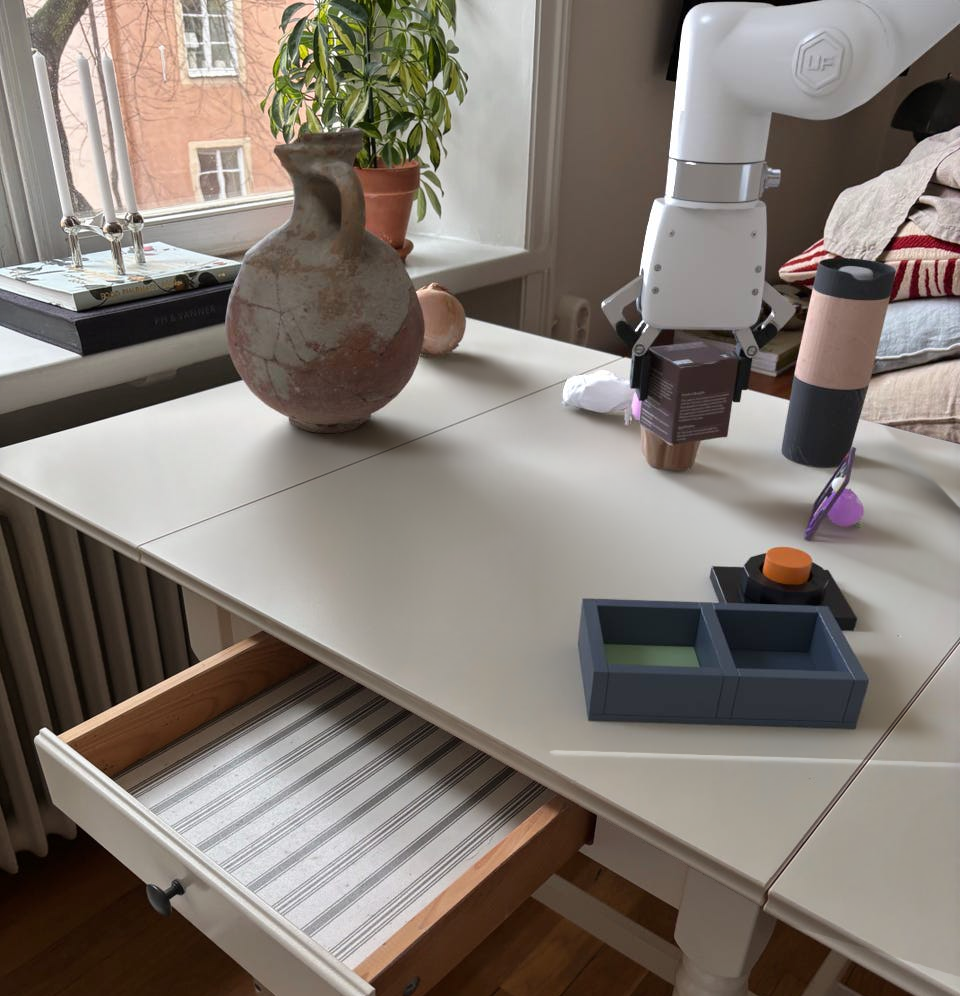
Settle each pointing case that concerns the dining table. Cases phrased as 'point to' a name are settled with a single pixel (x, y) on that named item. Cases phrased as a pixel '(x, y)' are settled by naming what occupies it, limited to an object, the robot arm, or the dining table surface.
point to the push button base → (781, 589)
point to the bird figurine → (600, 393)
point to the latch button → (787, 565)
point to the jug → (324, 299)
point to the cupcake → (664, 448)
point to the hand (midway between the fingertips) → (686, 395)
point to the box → (689, 393)
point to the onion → (441, 320)
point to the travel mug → (836, 359)
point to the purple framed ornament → (837, 499)
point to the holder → (718, 664)
